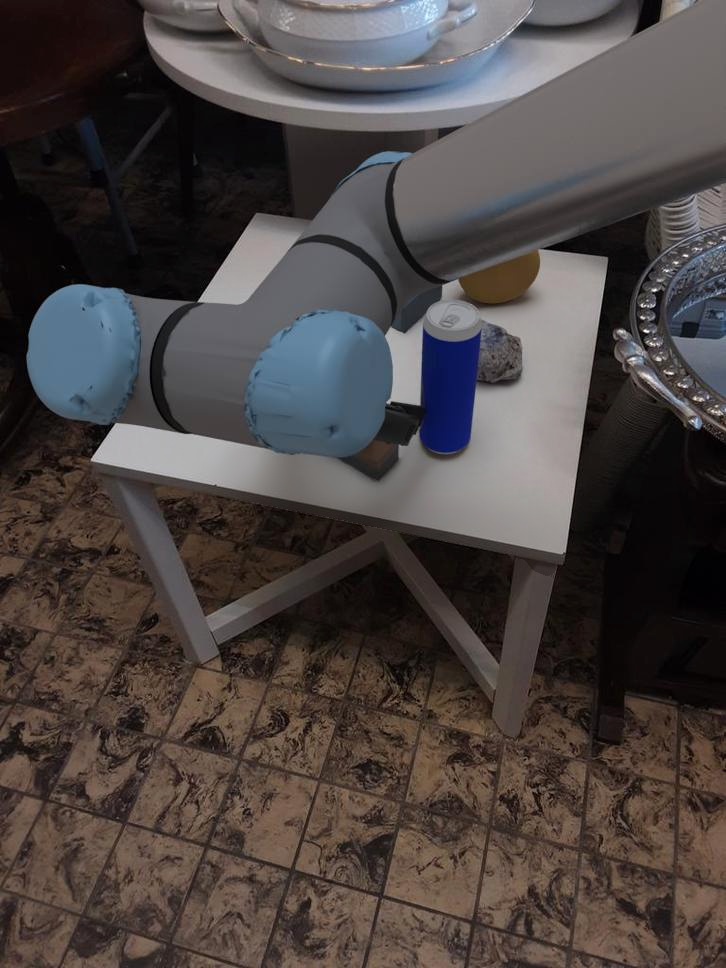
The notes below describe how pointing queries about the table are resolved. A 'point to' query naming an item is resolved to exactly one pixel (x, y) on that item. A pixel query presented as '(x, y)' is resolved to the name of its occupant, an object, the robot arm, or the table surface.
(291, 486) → the table surface
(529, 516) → the table surface
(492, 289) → the tan flat oval
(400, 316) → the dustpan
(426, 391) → the beverage can
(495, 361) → the mineral specimen
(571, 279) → the table surface
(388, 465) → the brush
